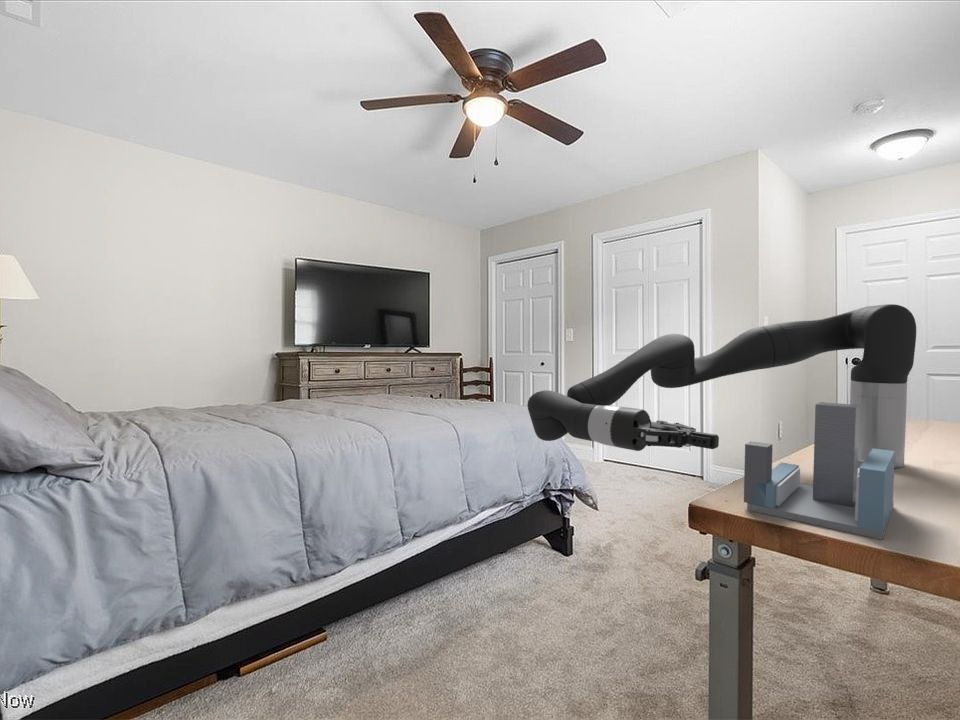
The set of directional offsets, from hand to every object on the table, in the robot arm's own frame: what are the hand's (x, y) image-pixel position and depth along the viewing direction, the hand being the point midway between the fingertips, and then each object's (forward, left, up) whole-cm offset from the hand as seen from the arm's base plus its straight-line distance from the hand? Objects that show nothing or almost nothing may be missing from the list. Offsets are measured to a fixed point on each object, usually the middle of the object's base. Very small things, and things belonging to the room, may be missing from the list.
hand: (717, 442), depth 78 cm
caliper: (-36, +14, -10) cm, 40 cm away
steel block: (-10, +14, -9) cm, 19 cm away
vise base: (-8, +13, -10) cm, 18 cm away
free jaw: (-7, +7, -8) cm, 13 cm away
